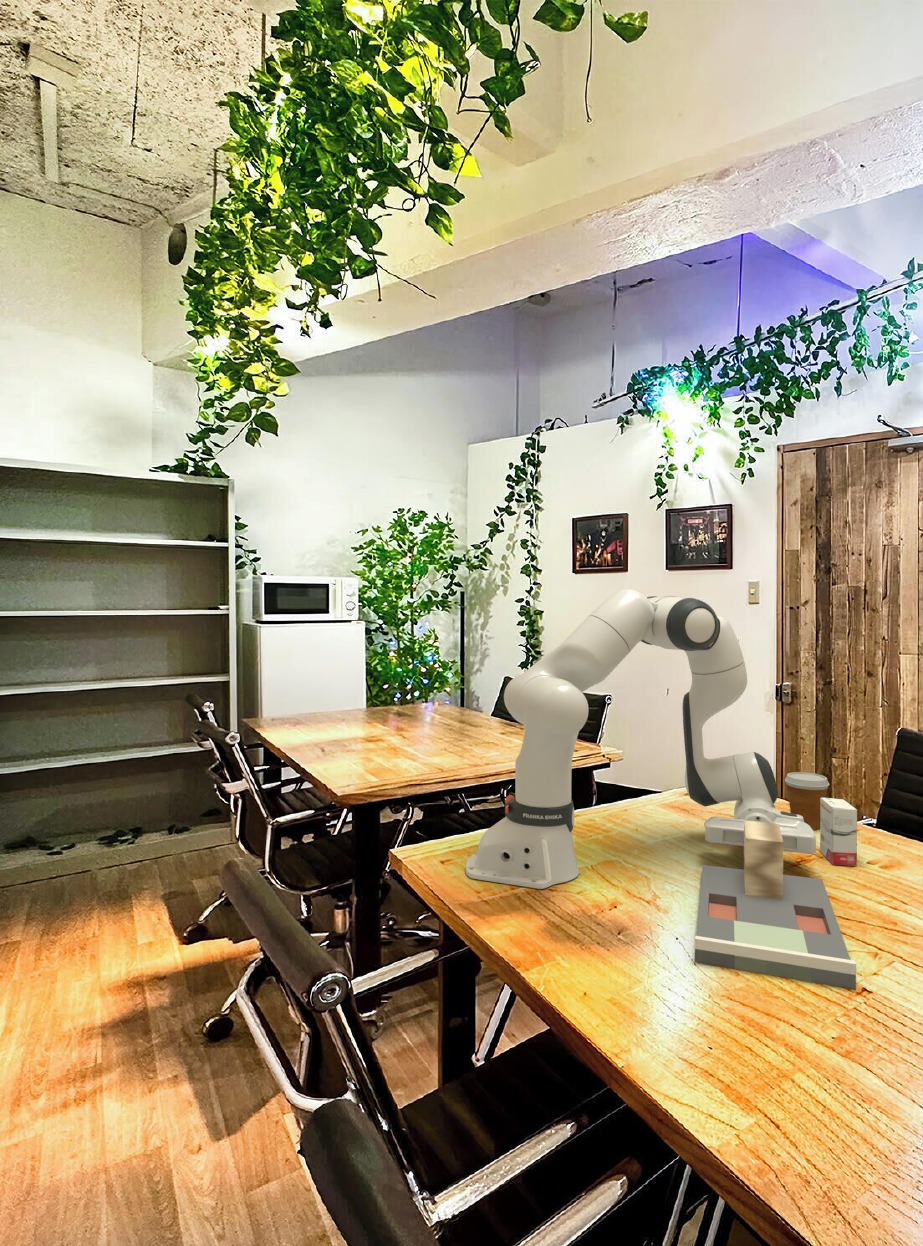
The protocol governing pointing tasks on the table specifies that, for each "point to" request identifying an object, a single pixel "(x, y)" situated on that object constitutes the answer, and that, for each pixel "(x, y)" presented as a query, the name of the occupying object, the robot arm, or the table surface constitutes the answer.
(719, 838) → the robot arm
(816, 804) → the disposable coffee cup
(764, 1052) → the table surface
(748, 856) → the maple block
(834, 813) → the ink box
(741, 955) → the trap runway
